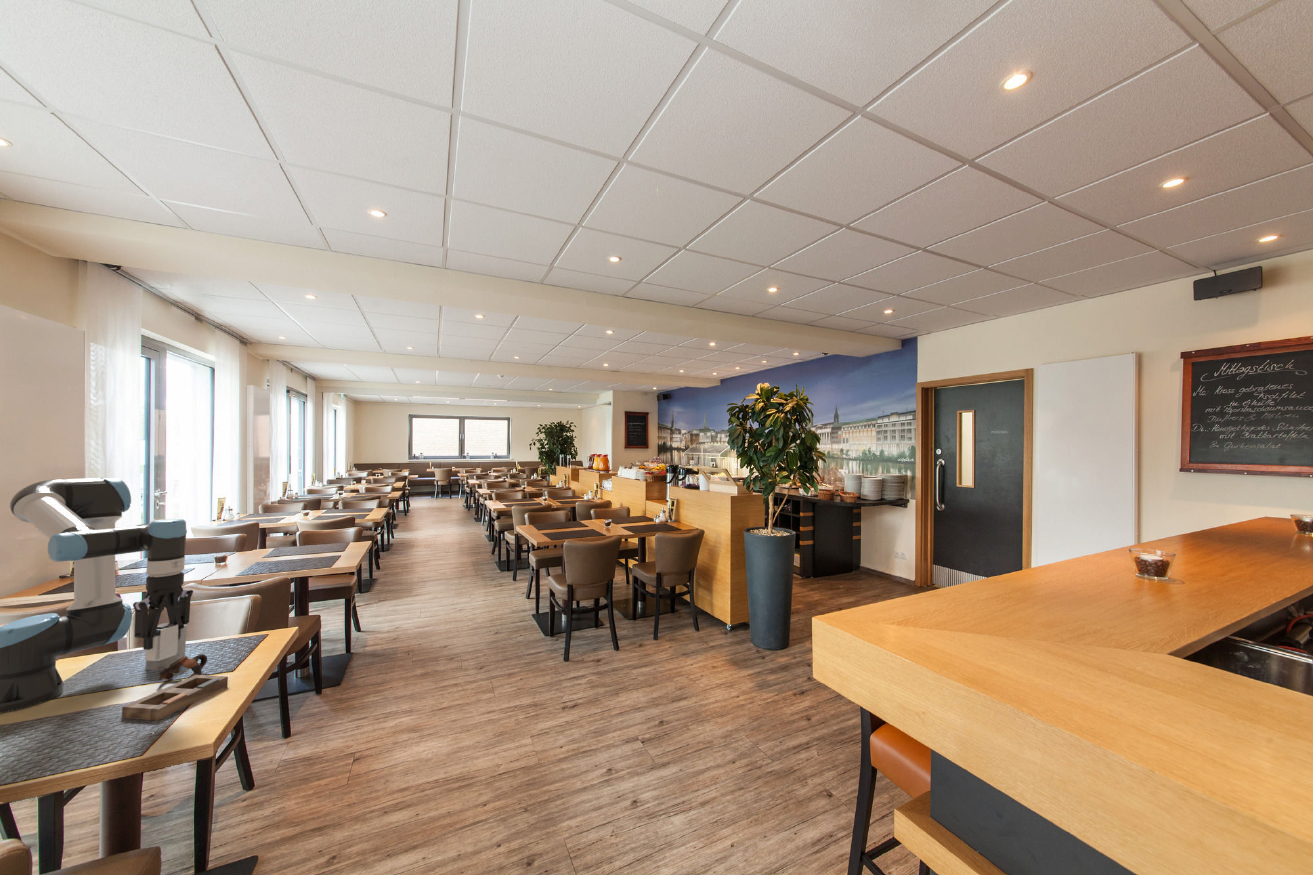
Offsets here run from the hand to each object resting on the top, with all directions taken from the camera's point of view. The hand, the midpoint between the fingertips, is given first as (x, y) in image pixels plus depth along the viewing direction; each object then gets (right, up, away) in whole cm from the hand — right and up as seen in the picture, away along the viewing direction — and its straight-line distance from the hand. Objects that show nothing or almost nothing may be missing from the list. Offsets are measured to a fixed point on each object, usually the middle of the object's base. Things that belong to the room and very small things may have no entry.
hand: (161, 655), depth 133 cm
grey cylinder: (-28, -16, +28) cm, 43 cm away
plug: (0, 0, 0) cm, 0 cm away
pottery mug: (-11, -16, +18) cm, 26 cm away
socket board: (0, -15, +4) cm, 16 cm away
